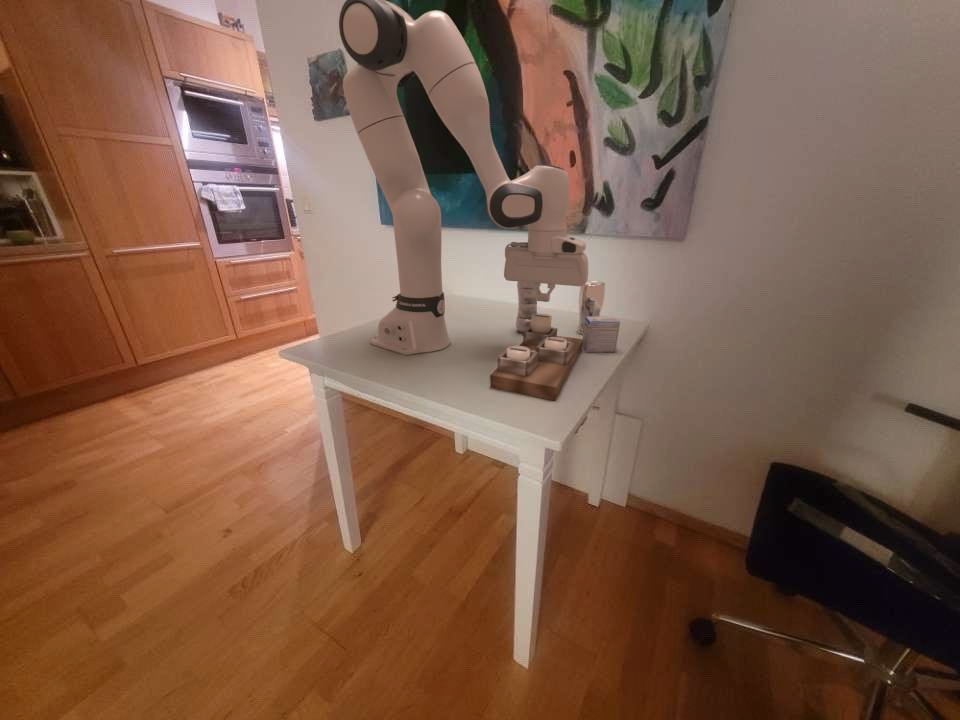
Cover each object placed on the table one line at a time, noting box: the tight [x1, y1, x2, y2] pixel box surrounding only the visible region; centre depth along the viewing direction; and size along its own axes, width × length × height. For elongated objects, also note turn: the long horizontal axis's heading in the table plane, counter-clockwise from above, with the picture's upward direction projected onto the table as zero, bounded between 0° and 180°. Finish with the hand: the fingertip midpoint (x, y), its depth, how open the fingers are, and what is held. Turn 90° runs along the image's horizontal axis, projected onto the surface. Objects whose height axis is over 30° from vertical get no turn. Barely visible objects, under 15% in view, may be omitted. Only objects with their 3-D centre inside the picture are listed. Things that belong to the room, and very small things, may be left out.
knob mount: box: [489, 325, 583, 402], centre depth 87 cm, size 14×30×6 cm, turn 156°
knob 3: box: [544, 337, 567, 351], centre depth 85 cm, size 5×5×4 cm
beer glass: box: [576, 280, 606, 336], centre depth 108 cm, size 7×7×15 cm
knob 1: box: [506, 345, 530, 361], centre depth 79 cm, size 5×5×4 cm
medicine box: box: [582, 315, 621, 353], centre depth 96 cm, size 8×4×9 cm, turn 92°
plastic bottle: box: [515, 281, 541, 334], centre depth 107 cm, size 6×7×20 cm
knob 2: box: [531, 313, 553, 334], centre depth 93 cm, size 5×5×4 cm
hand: (543, 301), depth 91 cm, fingers closed
